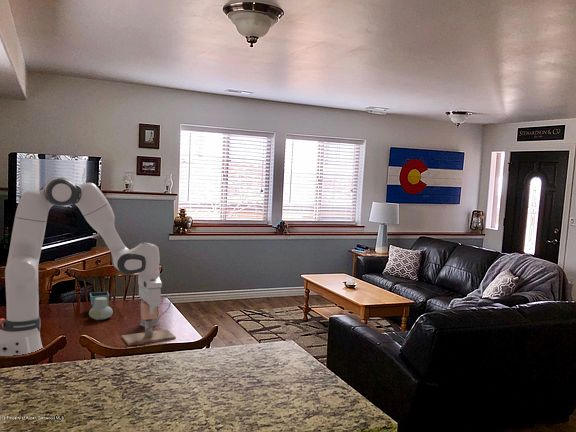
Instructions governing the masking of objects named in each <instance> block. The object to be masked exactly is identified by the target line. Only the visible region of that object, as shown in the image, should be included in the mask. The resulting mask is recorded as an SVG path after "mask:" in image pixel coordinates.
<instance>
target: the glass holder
mask: <svg viewBox="0 0 576 432" xmlns="http://www.w3.org/2000/svg"><path fill="white" fill-rule="evenodd" d="M166 296H168V297H169V298H170V299H169V304H168V307H167V308H166V310H165V311H163V312H162V313H161V314H160V315H159V306H157V318H155V319H151V320H153V327H157V326H159V325H160V322H159V320H160V318H161V316H163V315H164V314H165V313H166V312H167V311H168V310H169V308H170V307H171V304H172V298H171V296H170V295H169V294H164V295H163V296H161V299H160V304H159V305H161V304H162V303H163V298H164V297H166ZM142 301H143V299H142V298H141V300H140V303H141V302H142ZM140 319H141V320H140V324H139V325H140V326H141V327H144V328H145V320H144V319H143V318H142V317H141V316H140Z"/></svg>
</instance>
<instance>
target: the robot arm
mask: <svg viewBox="0 0 576 432" xmlns="http://www.w3.org/2000/svg"><path fill="white" fill-rule="evenodd" d="M71 205H75V206H76V207H77V208H78V209H79V211H80V212H81V215H82V216H83V217H84V219H85V221H86V222H87V223H88V224H89V226H90V227H92V229H93V230H94V231H96V233H98V234H99V235H100V237H101V238H102V240H103V241H104V243H105V245H106V246H107V248H108V249H109V252H110V257H111V263H112V267H114V269H116V270H118V271H119V272H120V273H121V274H123V275H127V276H128V275H133V274H134V275H135V274H137V275H138V276H137V280H138V281H137V282H138V283H137V284H138V297H139V298H142V299H143V301H145V302H147V303H148V304H149V314H154V308H155V306H158V307H159V306H160V305H161V304H160V303H161V298H162V296H161V295H162V291H161V288H162V287H163V282H162V280H161V276H160V275H161V274H160V269H159V267H160V263H161V262H160V260H161V258H160V250H159V249H160V248H159V246H158V245H156V244H154V243H151V242H146V241H145V242H144V241H143V242H140V243H139V244H138V245H136V246H135V247H133V248H131V249H130V248H129V247H127V246H126V245H125V244H124V243H123V242H124V241H123V240H122V239H121V237H120V235H119V233H118V231H117V229H116V226H115V220H116V216H115V214H114V210H113V208H112V206H111V204H110V203H109V200H108V199H107V197H106V196H105V195H104V193H103V192H102V191H101V189H100V188H99V187H98V186H97V185H96V184H95V183H93V182H84V183H82V184H79V185H78V184H76V183H74V182H73V181H72V180H70V179H69V178H67V177H62V176H57V177H56V176H55V177H53V178H50V179H49V180H47V182H45V184H44V185H43V186H42V187H41V188H40V190H36V189H29V190H26V191H24V192H23V193H22V194H21V196H20V198H19V201H18V203H17V208H16V209H15V210H16V211H15V215H14V221H13V226H12V231H11V238H10V243H9V244H10V245H9V251H8V256H7V261H6V266H5V270H4V277H5V279H4V280H5V299H6V300H5V301H6V304H5V305H6V306H5V307H6V318H0V356H13V355H22V354H28V353H31V352H35V351H37V350H39V349H41V348H43V349H44V347H43V344H42V339H41V332H40V331H41V326H42V325H41V317H40V314H39V313H40V312H39V311H40V310H39V309H40V307H39V306H40V305H39V302H40V301H39V299H40V298H39V296H40V295H39V265H40V264H39V262H40V258H41V253H42V248H43V243H44V240H45V239H44V238H45V234H46V228H47V227H46V226H47V223H48V222H47V221H48V217H49V211H50V209H51V208H52V207H53V206H57V207H65V206H71Z"/></svg>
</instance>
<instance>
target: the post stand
mask: <svg viewBox="0 0 576 432" xmlns="http://www.w3.org/2000/svg"><path fill="white" fill-rule="evenodd" d="M153 328H154V326H153V320H151V319H147V320H145V327H144V331H143V332H137V333H129V334H122V335H121V338H122V339H121V340H123V341H124V342H125V344H126V345H128V346H129V347H131V346H137V345H143V344H151V343H157V342H163V341H170V340H176V338H177V336H176V335H174V334H173V333H172V332H171V331H170V330H169V329H168V328H166V329H165V328H164V329H158V330H153Z"/></svg>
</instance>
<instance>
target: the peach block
mask: <svg viewBox="0 0 576 432" xmlns="http://www.w3.org/2000/svg"><path fill="white" fill-rule="evenodd" d="M141 317H142V318H143V319H144V320H147V319H155V318H157V306H155V308H154V314H149V304H148V303H147V302H145V301H142V302H141V301H140V318H141Z"/></svg>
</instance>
